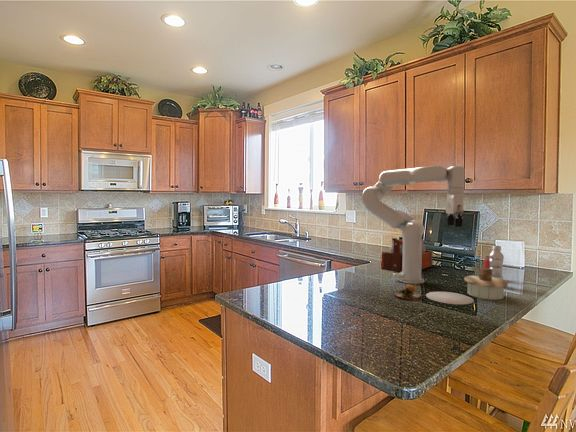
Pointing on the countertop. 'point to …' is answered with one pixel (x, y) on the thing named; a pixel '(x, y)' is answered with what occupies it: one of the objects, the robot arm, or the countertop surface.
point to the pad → (449, 298)
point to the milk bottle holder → (395, 256)
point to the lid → (486, 279)
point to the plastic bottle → (496, 262)
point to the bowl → (485, 292)
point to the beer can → (486, 262)
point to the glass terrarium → (408, 293)
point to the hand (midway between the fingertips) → (454, 225)
